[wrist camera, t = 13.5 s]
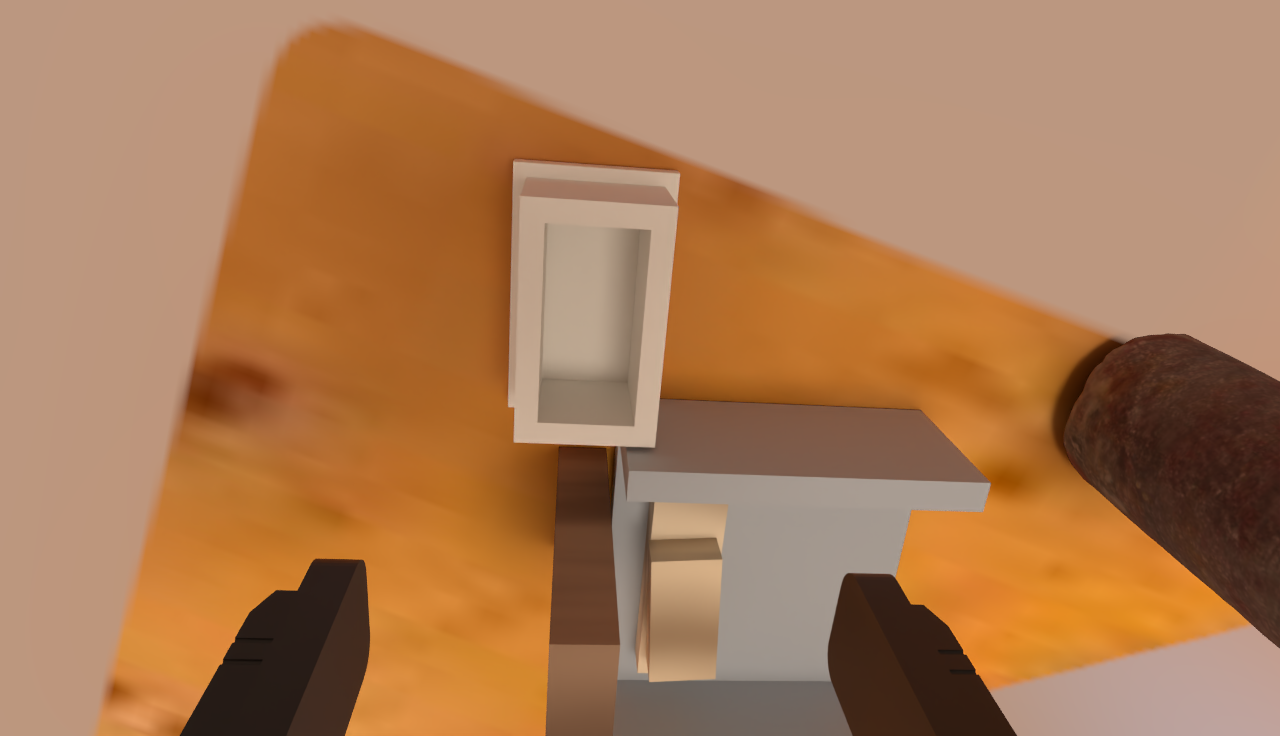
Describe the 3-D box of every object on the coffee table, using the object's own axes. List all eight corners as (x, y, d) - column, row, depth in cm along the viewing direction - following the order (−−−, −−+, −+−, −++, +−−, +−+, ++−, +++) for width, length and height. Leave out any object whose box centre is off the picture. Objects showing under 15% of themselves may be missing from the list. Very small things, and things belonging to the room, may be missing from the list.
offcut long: (651, 476, 33) (655, 495, 31) (722, 478, 33) (729, 497, 32) (634, 649, 36) (637, 673, 35) (699, 649, 36) (704, 673, 35)
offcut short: (648, 539, 32) (651, 562, 31) (716, 537, 32) (722, 559, 31) (645, 656, 34) (649, 682, 33) (709, 653, 35) (715, 678, 33)
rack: (619, 397, 33) (629, 470, 27) (920, 410, 34) (991, 483, 28) (597, 680, 38) (601, 792, 32) (857, 682, 40) (905, 790, 34)
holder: (514, 158, 29) (504, 178, 24) (677, 170, 29) (695, 192, 25) (509, 399, 32) (498, 454, 28) (654, 405, 33) (667, 460, 29)
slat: (558, 446, 33) (549, 644, 22) (606, 448, 34) (619, 645, 22) (554, 546, 35) (544, 775, 24) (599, 547, 35) (609, 775, 24)
